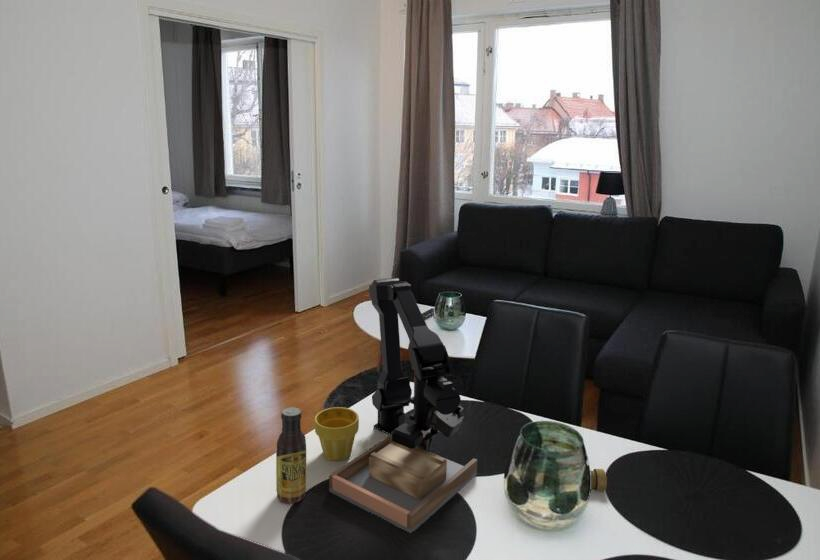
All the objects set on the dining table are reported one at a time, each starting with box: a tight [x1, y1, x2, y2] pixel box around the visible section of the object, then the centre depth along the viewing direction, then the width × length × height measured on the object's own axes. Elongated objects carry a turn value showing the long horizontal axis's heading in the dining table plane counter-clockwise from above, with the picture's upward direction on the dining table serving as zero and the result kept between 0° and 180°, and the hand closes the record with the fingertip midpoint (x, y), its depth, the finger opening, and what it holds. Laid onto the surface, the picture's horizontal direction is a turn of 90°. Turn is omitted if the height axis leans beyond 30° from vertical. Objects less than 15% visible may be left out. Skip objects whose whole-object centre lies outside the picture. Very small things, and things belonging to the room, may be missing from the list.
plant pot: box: [313, 406, 360, 462], centre depth 141 cm, size 10×10×10 cm
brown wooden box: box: [369, 441, 447, 500], centre depth 131 cm, size 14×10×5 cm
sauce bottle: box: [275, 406, 307, 505], centre depth 123 cm, size 6×6×20 cm
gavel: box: [589, 468, 608, 492], centre depth 139 cm, size 21×5×10 cm
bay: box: [328, 434, 478, 534], centre depth 131 cm, size 22×25×4 cm
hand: (425, 456), depth 136 cm, fingers closed
